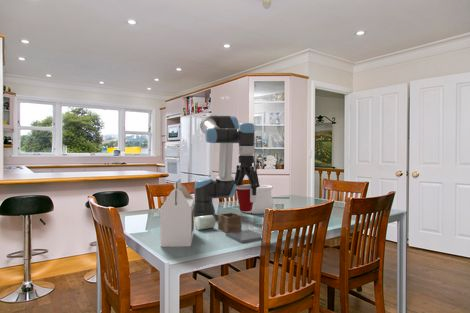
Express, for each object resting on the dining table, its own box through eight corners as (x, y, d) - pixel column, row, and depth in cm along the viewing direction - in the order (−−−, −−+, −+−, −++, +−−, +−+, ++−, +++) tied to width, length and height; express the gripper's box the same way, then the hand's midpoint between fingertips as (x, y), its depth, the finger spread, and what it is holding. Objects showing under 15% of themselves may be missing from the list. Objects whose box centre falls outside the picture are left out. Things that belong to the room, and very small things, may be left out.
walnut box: (218, 229, 167) (218, 214, 166) (232, 227, 171) (232, 212, 171) (226, 233, 159) (227, 217, 159) (241, 230, 164) (241, 215, 164)
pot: (241, 207, 232) (241, 183, 231) (274, 208, 228) (274, 184, 228) (236, 214, 206) (236, 187, 206) (273, 215, 203) (273, 188, 202)
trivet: (226, 235, 154) (226, 233, 154) (249, 231, 162) (249, 229, 162) (241, 243, 142) (241, 240, 142) (265, 238, 150) (265, 236, 150)
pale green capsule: (201, 223, 161) (196, 213, 166) (198, 232, 164) (193, 223, 169) (216, 221, 166) (211, 212, 171) (212, 230, 169) (207, 221, 174)
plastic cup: (233, 207, 157) (234, 184, 156) (255, 208, 157) (255, 184, 157) (234, 212, 146) (235, 187, 146) (257, 213, 147) (258, 187, 146)
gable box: (167, 233, 158) (168, 178, 157) (194, 233, 159) (194, 178, 158) (160, 247, 136) (160, 183, 135) (190, 246, 136) (191, 183, 136)
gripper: (227, 154, 159) (227, 197, 159) (254, 155, 139) (254, 204, 140) (239, 154, 163) (239, 196, 163) (267, 155, 143) (267, 203, 144)
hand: (246, 200), depth 151 cm, fingers closed on plastic cup, 11 cm apart
